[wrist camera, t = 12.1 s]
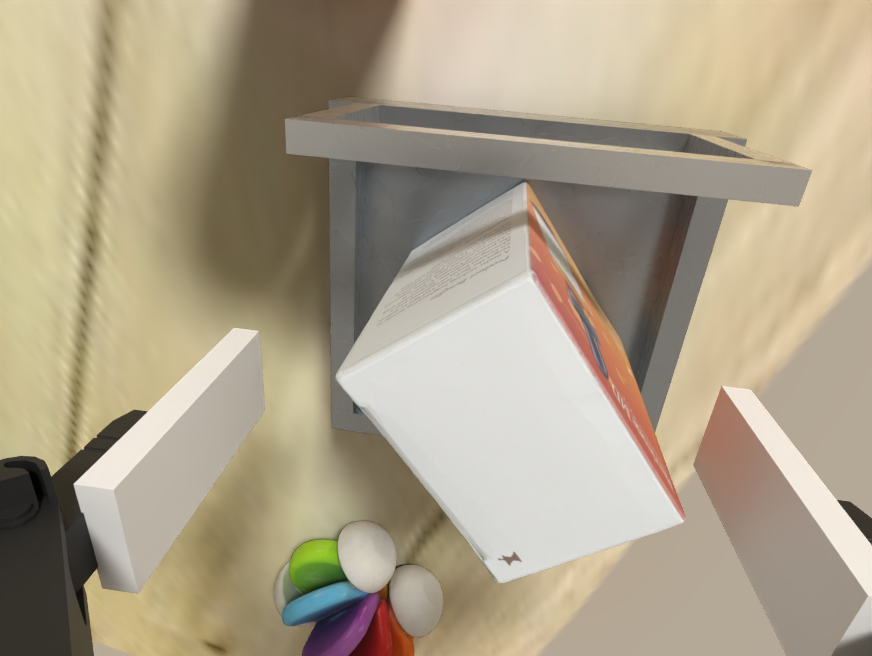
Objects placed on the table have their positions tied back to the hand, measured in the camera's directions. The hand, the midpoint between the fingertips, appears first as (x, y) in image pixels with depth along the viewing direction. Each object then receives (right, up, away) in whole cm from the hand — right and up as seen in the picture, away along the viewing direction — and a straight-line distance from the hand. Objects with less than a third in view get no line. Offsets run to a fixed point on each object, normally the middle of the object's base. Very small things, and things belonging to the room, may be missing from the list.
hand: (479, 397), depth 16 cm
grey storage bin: (+2, +4, +9) cm, 10 cm away
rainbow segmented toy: (-6, -13, +19) cm, 24 cm away
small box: (+2, +3, +7) cm, 8 cm away
